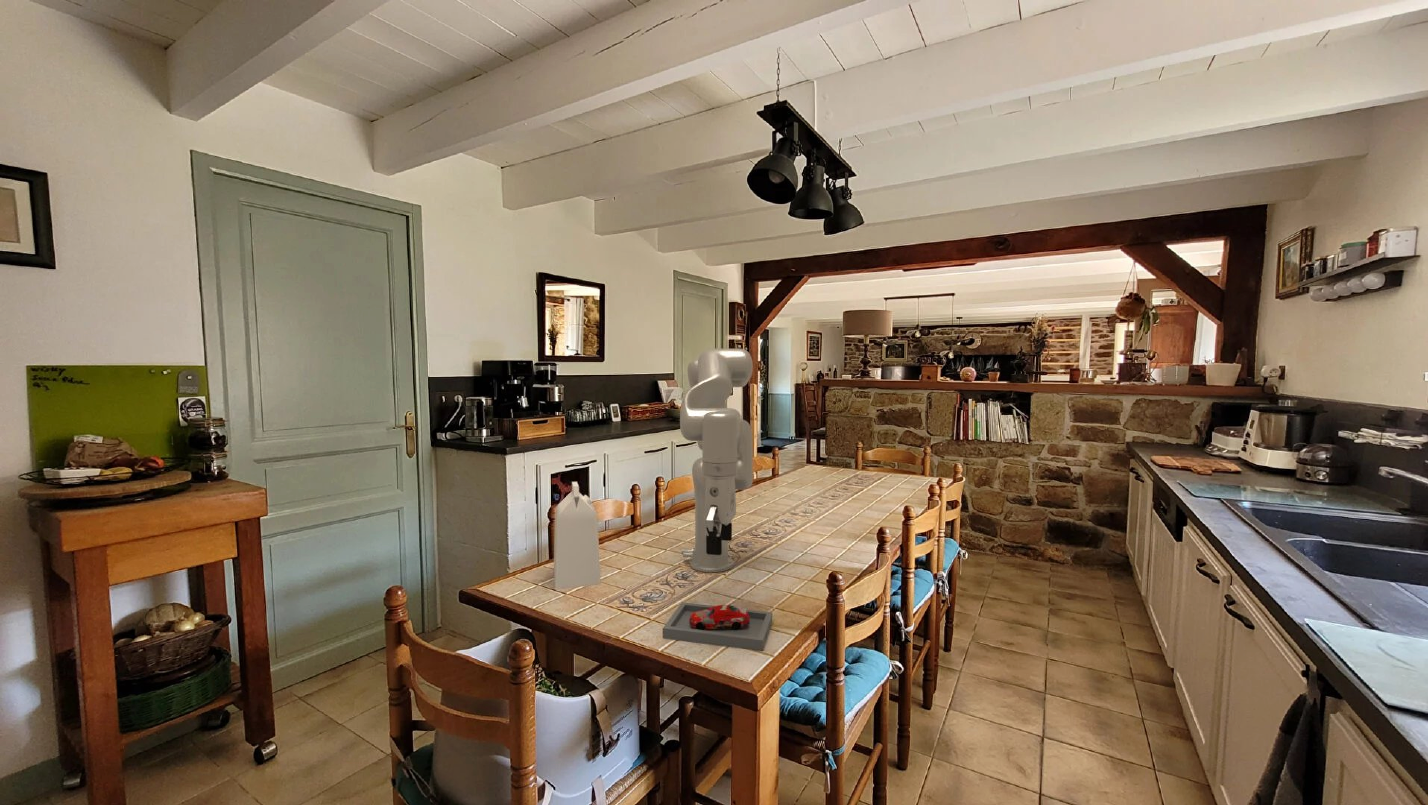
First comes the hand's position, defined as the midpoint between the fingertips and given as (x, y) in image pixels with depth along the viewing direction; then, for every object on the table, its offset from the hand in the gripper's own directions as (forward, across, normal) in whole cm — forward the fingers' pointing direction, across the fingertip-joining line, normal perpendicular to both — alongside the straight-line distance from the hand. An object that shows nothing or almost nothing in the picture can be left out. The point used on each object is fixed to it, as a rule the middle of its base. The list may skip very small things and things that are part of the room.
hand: (719, 546), depth 120 cm
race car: (+18, 0, 0) cm, 18 cm away
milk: (+19, +19, +44) cm, 52 cm away
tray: (+18, 0, 0) cm, 18 cm away
